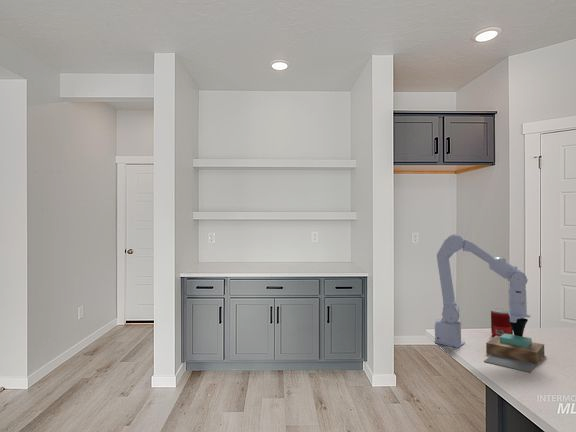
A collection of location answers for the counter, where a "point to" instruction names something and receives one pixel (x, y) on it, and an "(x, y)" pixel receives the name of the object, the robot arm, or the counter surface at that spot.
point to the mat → (510, 363)
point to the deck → (515, 350)
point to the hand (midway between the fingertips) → (518, 337)
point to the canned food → (500, 322)
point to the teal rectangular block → (516, 340)
